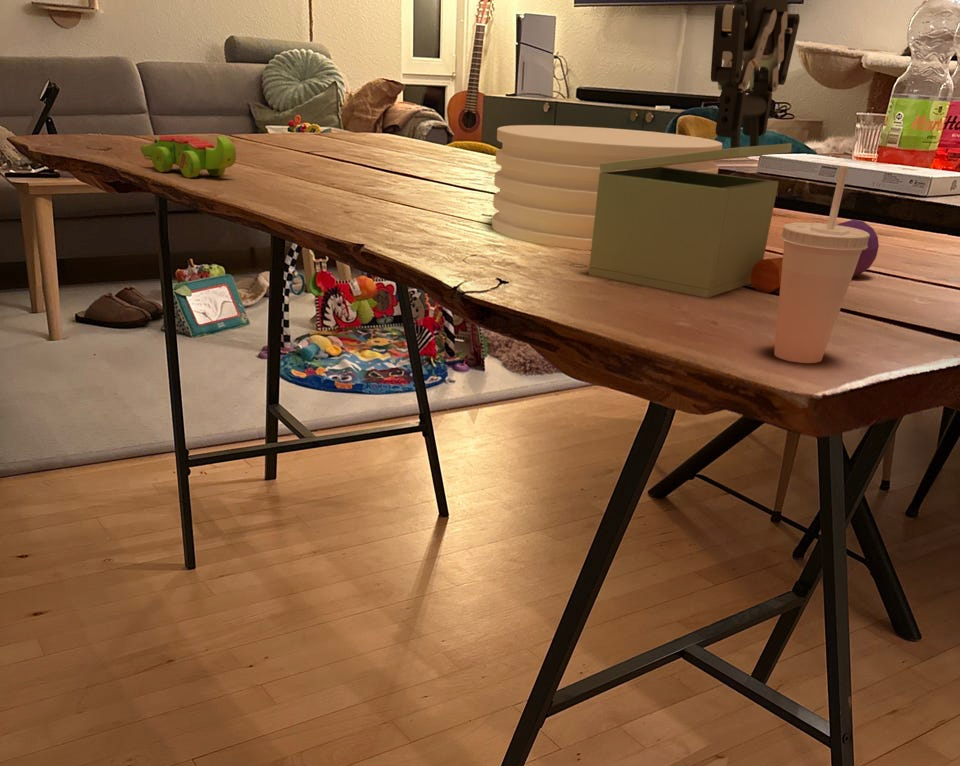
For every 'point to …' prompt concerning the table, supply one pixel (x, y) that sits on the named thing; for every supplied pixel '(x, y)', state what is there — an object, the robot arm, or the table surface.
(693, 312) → the table surface
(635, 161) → the compartment lid
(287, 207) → the table surface
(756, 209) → the compartment
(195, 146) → the toy crocodile
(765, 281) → the kendama
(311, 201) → the table surface
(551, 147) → the plate stack
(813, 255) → the smoothie
